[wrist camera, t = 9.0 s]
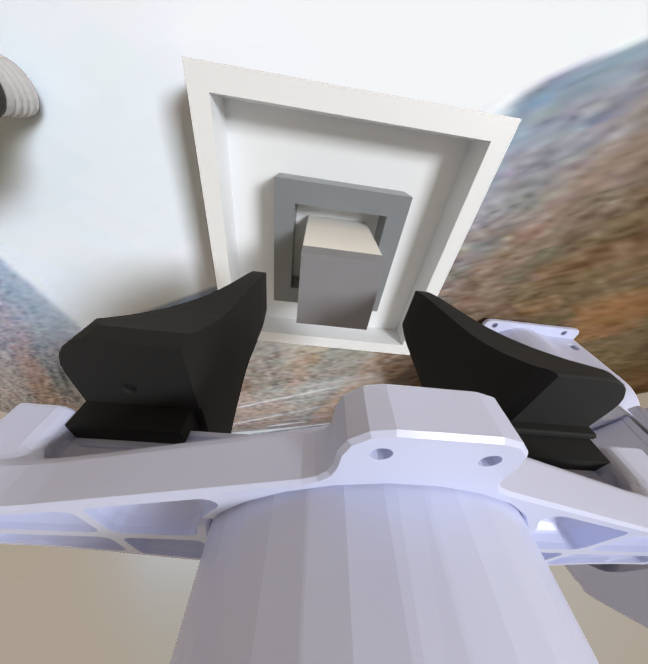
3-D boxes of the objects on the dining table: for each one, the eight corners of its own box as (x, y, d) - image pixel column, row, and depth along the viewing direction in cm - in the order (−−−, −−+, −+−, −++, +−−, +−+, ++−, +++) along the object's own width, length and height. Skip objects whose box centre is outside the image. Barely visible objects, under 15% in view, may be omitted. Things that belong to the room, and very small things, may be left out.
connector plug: (366, 222, 17) (386, 263, 12) (354, 275, 20) (366, 329, 14) (308, 214, 17) (301, 252, 11) (304, 269, 19) (296, 322, 14)
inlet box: (489, 122, 14) (521, 119, 12) (401, 333, 24) (409, 354, 22) (207, 70, 13) (181, 56, 11) (234, 316, 23) (224, 337, 21)
